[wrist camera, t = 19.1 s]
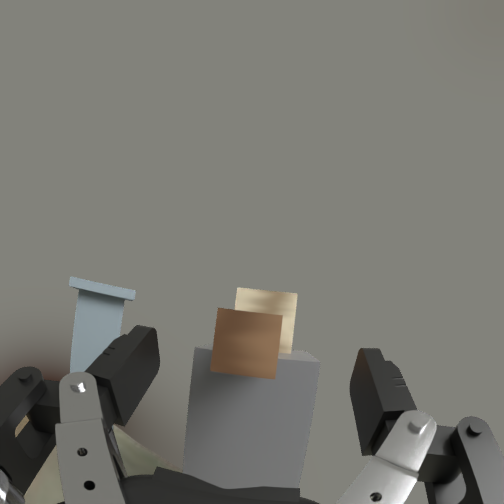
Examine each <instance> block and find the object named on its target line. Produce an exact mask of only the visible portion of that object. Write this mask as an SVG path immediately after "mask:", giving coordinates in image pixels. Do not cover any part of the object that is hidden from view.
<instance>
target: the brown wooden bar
mask: <svg viewBox="0 0 504 504" xmlns="http://www.w3.org/2000/svg"><path fill="white" fill-rule="evenodd" d="M296 304H297V294H296V293H286V292H276V291H266V290H257V289H248V288H237V296H236V303H235V310H232V309H224V308H218V311H217V319H216V327H215V335H214V343H213V351H212V359H211V367H210V371H215V372H221V373H228V374H234V375H241V376H249V377H257V378H265V379H275V377H276V369H277V361H278V353H288V354H291V349H292V340H293V332H294V322H295V313H296Z"/></svg>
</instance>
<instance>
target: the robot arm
mask: <svg viewBox="0 0 504 504" xmlns="http://www.w3.org/2000/svg"><path fill="white" fill-rule="evenodd" d="M159 366H160V356H159V349H158V341H157V332H156V330H155V328H151V327H146V326H140V325H137V326H135V327H134V328H133V329H132V331H131V332H130V333H129V334H128V335H125V334H124V335H122V336H120V337H118V338H116V339H114V340H113V341H112V342H111V343H110V344H109V346H108V348H106V349H105V350H104V351H103V352H102V354H100V355H99V356H98V357H97V358H96V359H95V360H94V362H93V363H92V364H91V365H90V366H89V367H88V368H87V369H86V370H85V371H84V372H73V373H70V374H68V375H66V376H65V377H63V378H62V380H61V381H51V380H44V379H43V376H42V374H41V372H40V370H39V369H37V368H35V367H23V368H20V369H18V370H16V371H15V372H14V373H13V374H12V375H11V376H10V377H9V378H8V379H7V380H6V381H5V382H4V383H3V384H2V385H1V386H0V504H25V499H24V494H25V493H26V491H27V489H28V488H29V486H30V484H31V483H32V481H33V480H34V478H35V476H36V475H37V473H38V472H39V470H40V468H41V467H42V465H43V464H44V462H45V461H46V459H47V458H48V456H49V454H50V453H51V451H52V450H53V448H54V447H55V445H57V455H58V463H59V470H60V477H61V483H62V489H63V495H64V500H65V501H64V502H61V503H58V504H319V503H317V502H315V501H312V500H309V499H306V498H302V497H300V488H283V487H268V486H260V487H250V488H236V489H224V488H220V487H218V486H215V485H213V484H210V483H208V482H205V481H203V480H201V479H198V478H196V477H194V476H191V475H188V474H184V473H180V472H175V471H171V470H168V469H164V468H160V467H157V468H156V470H155V473H154V475H135V476H130V477H128V475H127V473H126V470H125V468H124V465H123V462H122V458H121V455H120V452H119V449H118V445H117V442H116V438H115V435H114V432H113V429H112V426H113V424H114V423H115V424H118V425H121V426H125V425H126V423H127V422H128V420H129V419H130V417H131V415H132V414H133V412H134V410H135V409H136V407H137V406H138V404H139V402H140V401H141V399H142V397H143V396H144V394H145V393H146V391H147V389H148V388H149V386H150V384H151V383H152V381H153V379H154V378H155V376H156V375H157V373H158V370H159ZM350 396H351V401H352V406H353V411H354V415H355V420H356V425H357V431H358V436H359V441H360V446H361V452H362V456H366V455H372V456H373V457H372V458H371V459H370V461H369V462H368V463H367V465H366V466H365V467H364V469H363V470H362V472H361V473H360V474H359V475H358V477H357V478H356V479H355V481H354V482H353V483H352V484H351V486H350V487H349V488H348V489H347V491H346V492H345V493H344V494H343V495H342V496H341V498H340V499H339V500H338V501H337V502H336V503H335V504H404V502H405V500H406V498H407V497H408V495H409V493H410V491H411V489H412V488H413V486H414V484H415V482H416V481H422V482H424V483H425V488H426V492H427V498H428V502H429V504H504V457H503V455H502V453H501V451H500V448H499V446H498V444H497V442H496V440H495V438H494V436H493V434H492V432H491V430H490V428H489V426H488V425H487V423H486V422H485V421H483V420H482V419H480V418H477V417H472V416H470V417H465V418H463V419H462V420H461V421H460V422H459V424H458V425H457V427H446V426H439V425H436V422H435V420H434V419H433V418H432V417H431V416H430V415H429V414H427V413H425V412H422V411H418V410H417V408H416V406H415V404H414V401H413V399H412V397H411V394H410V392H409V390H408V387H407V386H406V383H405V381H404V379H403V376H402V374H401V372H400V370H399V368H398V367H397V366H395V365H394V364H393V363H392V362H391V361H385V360H384V358H383V355H382V353H381V351H380V349H378V348H361V349H360V350H359V352H358V356H357V359H356V363H355V366H354V370H353V373H352V377H351V381H350ZM25 415H27V417H28V419H29V422H28V423H27V424H26V425H25V427H24V428H23V429H22V431H21V432H20V433H19V434H18V436H17V437H15V429H16V427H17V425H18V424H19V423H20V422H21V420H22V419H23V418H24V417H25ZM462 475H463V476H462ZM463 478H464V479H463ZM465 485H466V486H465Z"/></svg>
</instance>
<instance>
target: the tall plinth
mask: <svg viewBox="0 0 504 504" xmlns="http://www.w3.org/2000/svg"><path fill="white" fill-rule="evenodd" d="M69 286H71V287H73V288H76V289H79V294H78V301H77V307H76V314H75V322H74V330H73V341H72V352H71V365H70V373H73V372H84V371H85V370H86V369H87V368H88V367H89V366H90V365H91V364H92V363H93V362H94V360H95V359H96V358H97V357H98V356H99V355H100V354H102V352H103V351H104V350H105V349H106V348H108V346H109V344H110V343H111V342H112V341H113V340H114V339H116V338H118V337H120V329H121V321H122V314H123V307H124V301H125V300H129V301H133V300H134V298H135V292H136V291H134V290H130V289H125V288H120V287H115V286H111V285H106V284H101V283H97V282H92V281H88V280H84V279H80V278H75V277H70V282H69ZM112 429H113V426H112Z"/></svg>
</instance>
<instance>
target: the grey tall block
mask: <svg viewBox="0 0 504 504" xmlns="http://www.w3.org/2000/svg"><path fill="white" fill-rule="evenodd" d="M212 351H213V343H212V344H208V345H203V346H198V347H195V350H194V358H193V368H192V376H191V385H190V395H189V405H188V415H187V426H186V437H185V449H184V464H183V473H184V474H188V475H191V476H194V477H196V478H198V479H201V480H203V481H205V482H208V483H210V484H213V485H215V486H218V487H220V488H224V489H236V488H250V487H260V486H268V487H283V488H298V487H299V482H300V477H301V473H302V468H303V463H304V459H305V453H306V448H307V443H308V438H309V433H310V426H311V421H312V415H313V409H314V403H315V397H316V390H317V382H318V376H319V368H320V362H319V361H318V360H317V359H315V358H314V357H313V356H311V355H310V354H309V353H307V352H306V351H299V350H291V354H288V353H278V361H277V369H276V377H275V379H265V378H257V377H249V376H241V375H234V374H228V373H221V372H215V371H210V367H211V359H212Z"/></svg>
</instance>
